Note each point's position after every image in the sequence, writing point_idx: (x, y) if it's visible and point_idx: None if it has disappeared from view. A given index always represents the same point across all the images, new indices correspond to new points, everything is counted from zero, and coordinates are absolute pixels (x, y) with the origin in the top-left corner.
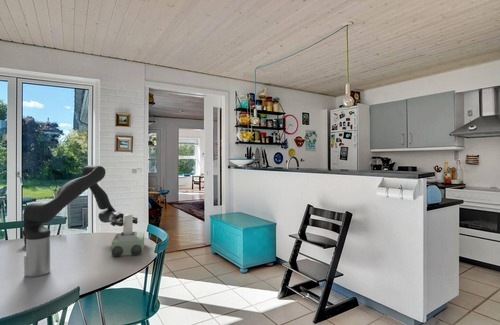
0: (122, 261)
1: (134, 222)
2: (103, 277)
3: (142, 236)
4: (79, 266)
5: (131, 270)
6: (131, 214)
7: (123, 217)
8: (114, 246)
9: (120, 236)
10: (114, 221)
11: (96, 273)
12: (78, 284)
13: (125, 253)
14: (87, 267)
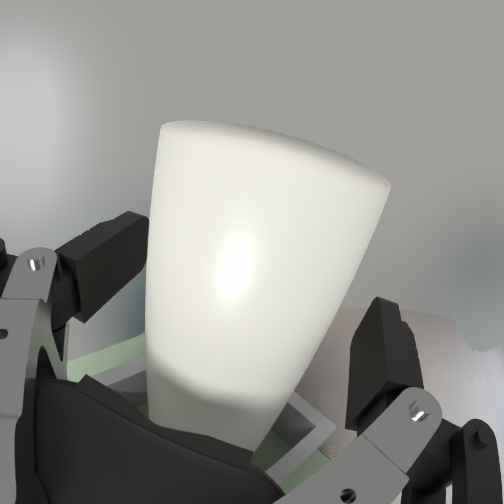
0: (318, 399)
1: (116, 277)
2: (422, 341)
3: (75, 364)
4: None
5: (342, 313)
6: (199, 124)
7: (370, 237)
8: None
9: (324, 417)
10: (478, 429)
11: (434, 379)
12: (472, 355)
13: None
14: None
